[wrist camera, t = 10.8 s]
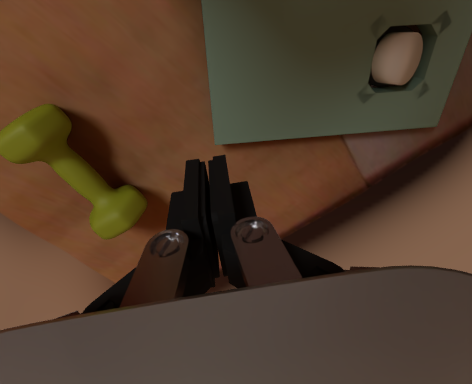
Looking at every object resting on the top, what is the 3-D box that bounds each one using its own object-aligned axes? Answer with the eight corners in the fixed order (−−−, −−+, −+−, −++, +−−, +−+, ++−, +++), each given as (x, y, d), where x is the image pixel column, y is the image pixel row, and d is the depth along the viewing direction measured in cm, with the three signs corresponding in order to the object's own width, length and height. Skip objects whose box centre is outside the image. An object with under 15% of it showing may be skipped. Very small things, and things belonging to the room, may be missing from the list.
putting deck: (199, -21, 26) (198, -24, 24) (475, -35, 28) (497, -38, 26) (214, 137, 35) (215, 144, 33) (423, 120, 37) (436, 126, 35)
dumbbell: (156, 192, 39) (148, 225, 33) (112, 217, 41) (97, 253, 35) (63, 88, 30) (29, 107, 24) (11, 124, 32) (-33, 150, 26)
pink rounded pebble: (378, 32, 28) (402, 32, 26) (404, 32, 31) (428, 32, 29) (367, 84, 31) (388, 87, 29) (392, 80, 33) (413, 83, 31)
